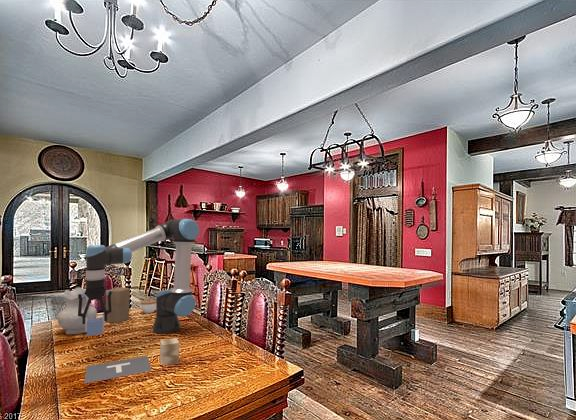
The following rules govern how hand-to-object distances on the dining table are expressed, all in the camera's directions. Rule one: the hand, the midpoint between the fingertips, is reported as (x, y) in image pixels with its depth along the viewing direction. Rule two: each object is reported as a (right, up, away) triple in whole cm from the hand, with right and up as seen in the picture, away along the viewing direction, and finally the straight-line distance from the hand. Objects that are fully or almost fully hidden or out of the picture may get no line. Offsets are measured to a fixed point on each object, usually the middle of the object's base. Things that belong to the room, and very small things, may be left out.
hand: (94, 329), depth 152 cm
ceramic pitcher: (-32, -15, +39) cm, 52 cm away
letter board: (+17, -12, -12) cm, 24 cm away
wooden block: (-21, -16, +61) cm, 67 cm away
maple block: (+36, -13, -4) cm, 38 cm away
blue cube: (0, -1, 0) cm, 1 cm away
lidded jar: (-10, -18, +82) cm, 85 cm away
